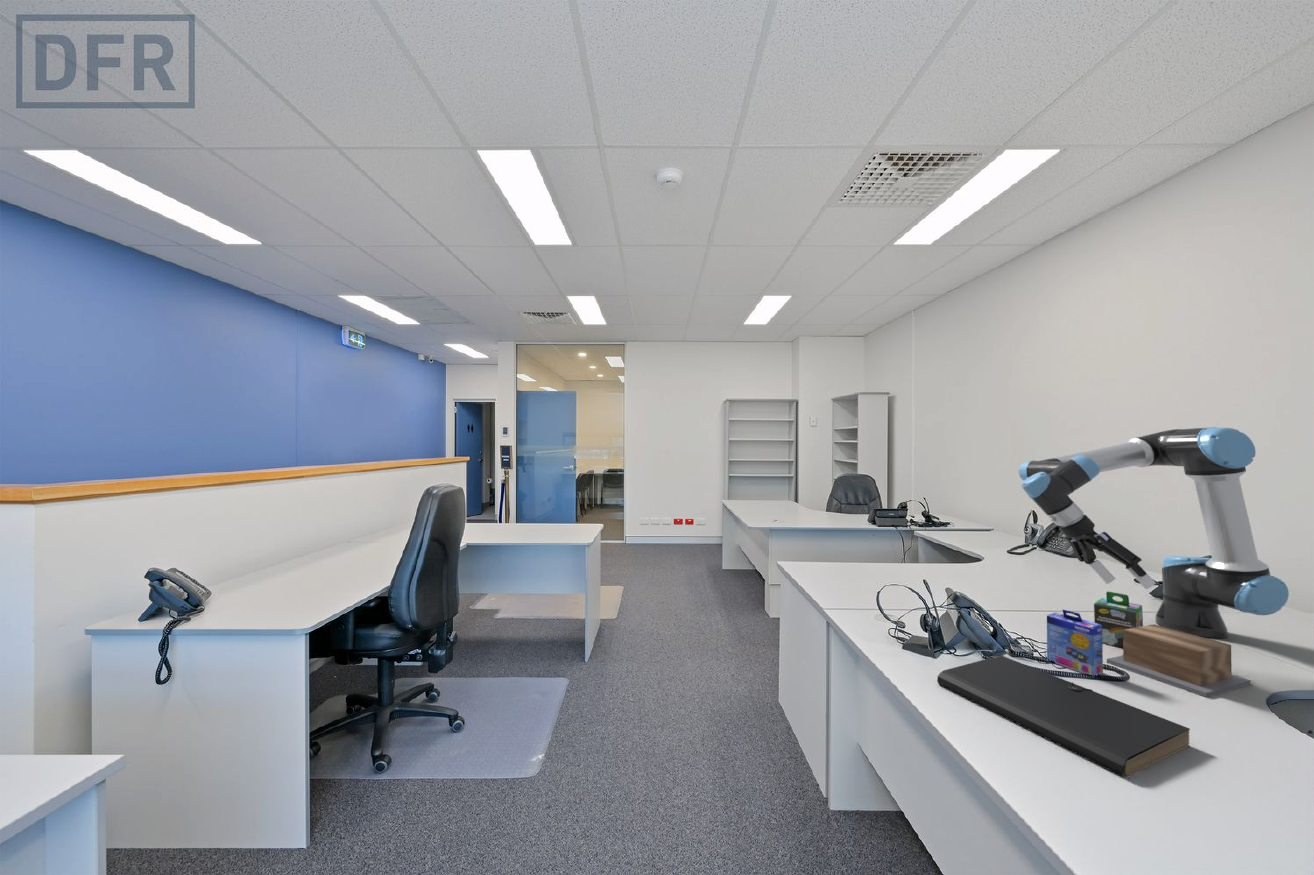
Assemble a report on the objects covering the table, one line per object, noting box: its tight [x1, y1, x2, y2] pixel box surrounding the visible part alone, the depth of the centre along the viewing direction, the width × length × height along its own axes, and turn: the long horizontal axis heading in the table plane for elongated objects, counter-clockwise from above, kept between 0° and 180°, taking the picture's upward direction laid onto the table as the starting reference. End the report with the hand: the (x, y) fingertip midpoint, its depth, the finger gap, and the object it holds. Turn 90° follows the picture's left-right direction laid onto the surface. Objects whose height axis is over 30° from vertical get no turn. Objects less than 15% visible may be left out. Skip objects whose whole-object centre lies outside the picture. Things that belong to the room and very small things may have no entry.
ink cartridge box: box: [1046, 609, 1104, 676], centre depth 119 cm, size 10×6×14 cm, turn 27°
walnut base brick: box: [1122, 623, 1233, 687], centre depth 117 cm, size 14×14×8 cm
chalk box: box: [1093, 591, 1144, 649], centre depth 135 cm, size 9×9×15 cm
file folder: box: [937, 655, 1191, 778], centre depth 97 cm, size 33×4×24 cm
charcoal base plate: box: [1106, 655, 1252, 698], centre depth 117 cm, size 20×18×1 cm
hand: (1130, 583), depth 130 cm, fingers open, 13 cm apart
